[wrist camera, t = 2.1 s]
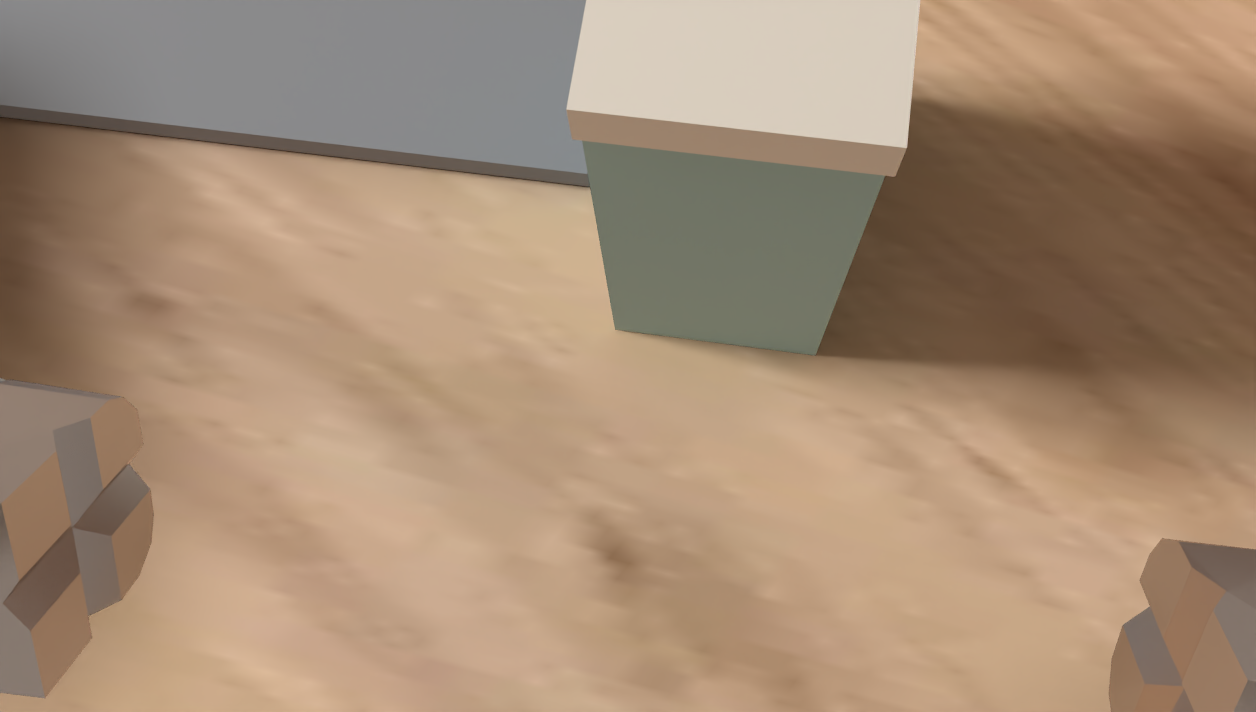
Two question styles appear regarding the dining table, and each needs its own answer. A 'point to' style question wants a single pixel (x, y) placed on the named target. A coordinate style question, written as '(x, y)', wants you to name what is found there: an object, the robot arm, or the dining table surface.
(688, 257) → the tea tin
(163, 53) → the felt mat
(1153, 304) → the dining table surface
